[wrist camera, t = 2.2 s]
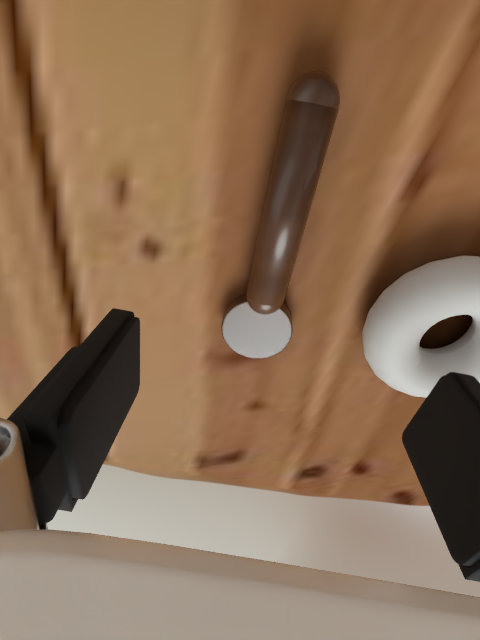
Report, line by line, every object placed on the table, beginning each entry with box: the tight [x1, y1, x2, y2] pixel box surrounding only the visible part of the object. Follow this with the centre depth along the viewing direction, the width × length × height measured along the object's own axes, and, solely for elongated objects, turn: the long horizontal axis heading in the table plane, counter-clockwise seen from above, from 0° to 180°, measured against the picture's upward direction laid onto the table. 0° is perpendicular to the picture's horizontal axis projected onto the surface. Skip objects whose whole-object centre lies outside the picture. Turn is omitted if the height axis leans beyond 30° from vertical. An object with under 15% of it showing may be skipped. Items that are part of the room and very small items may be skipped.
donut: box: [362, 255, 480, 397], centre depth 20 cm, size 10×4×10 cm
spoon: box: [222, 71, 340, 359], centre depth 18 cm, size 16×5×2 cm, turn 170°
